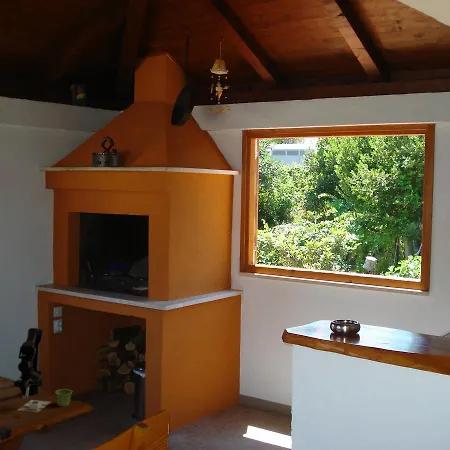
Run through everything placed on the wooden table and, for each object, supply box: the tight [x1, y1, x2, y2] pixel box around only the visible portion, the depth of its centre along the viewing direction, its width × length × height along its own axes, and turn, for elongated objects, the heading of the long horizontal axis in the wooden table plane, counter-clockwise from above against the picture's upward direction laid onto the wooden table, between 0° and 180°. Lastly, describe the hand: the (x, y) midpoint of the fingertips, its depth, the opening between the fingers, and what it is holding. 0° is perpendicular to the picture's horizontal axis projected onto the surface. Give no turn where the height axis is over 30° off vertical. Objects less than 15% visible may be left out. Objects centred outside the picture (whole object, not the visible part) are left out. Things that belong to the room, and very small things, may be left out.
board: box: [17, 399, 51, 413], centre depth 347 cm, size 18×12×2 cm, turn 173°
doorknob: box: [22, 383, 30, 399], centre depth 343 cm, size 4×4×8 cm
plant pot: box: [55, 388, 73, 407], centre depth 352 cm, size 9×9×9 cm
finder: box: [29, 400, 42, 410], centre depth 342 cm, size 5×5×3 cm
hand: (25, 394), depth 343 cm, fingers closed on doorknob, 3 cm apart
